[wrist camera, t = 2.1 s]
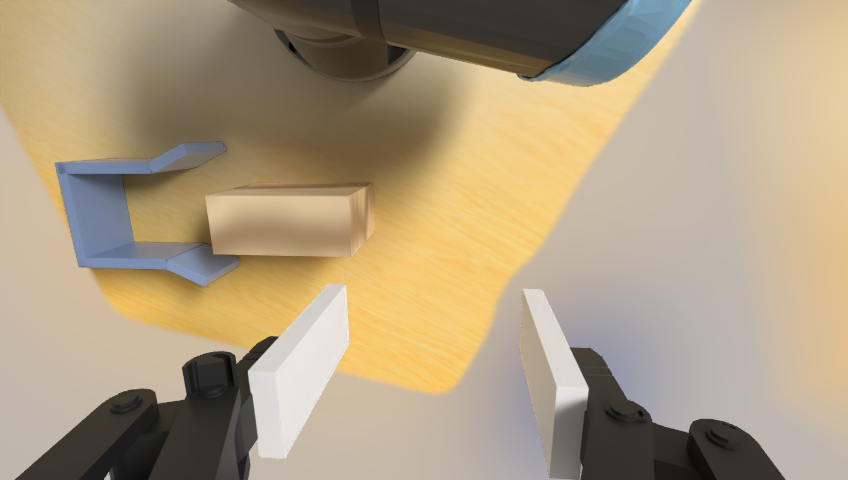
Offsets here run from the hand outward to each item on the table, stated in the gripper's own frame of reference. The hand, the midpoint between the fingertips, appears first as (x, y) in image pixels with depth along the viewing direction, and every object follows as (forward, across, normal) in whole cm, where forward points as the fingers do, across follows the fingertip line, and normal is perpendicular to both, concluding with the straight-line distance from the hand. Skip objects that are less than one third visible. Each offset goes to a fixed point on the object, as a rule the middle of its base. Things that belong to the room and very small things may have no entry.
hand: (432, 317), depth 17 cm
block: (+25, -14, 0) cm, 29 cm away
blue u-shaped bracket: (+25, -29, 0) cm, 39 cm away
